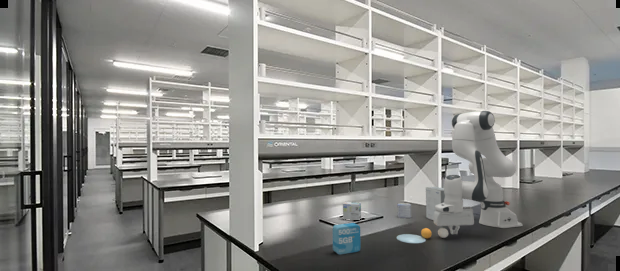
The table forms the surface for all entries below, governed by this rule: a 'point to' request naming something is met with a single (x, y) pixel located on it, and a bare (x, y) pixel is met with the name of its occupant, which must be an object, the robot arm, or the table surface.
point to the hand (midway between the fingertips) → (454, 233)
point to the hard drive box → (433, 200)
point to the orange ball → (426, 233)
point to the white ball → (443, 232)
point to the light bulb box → (352, 210)
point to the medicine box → (404, 210)
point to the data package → (346, 238)
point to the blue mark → (411, 238)
